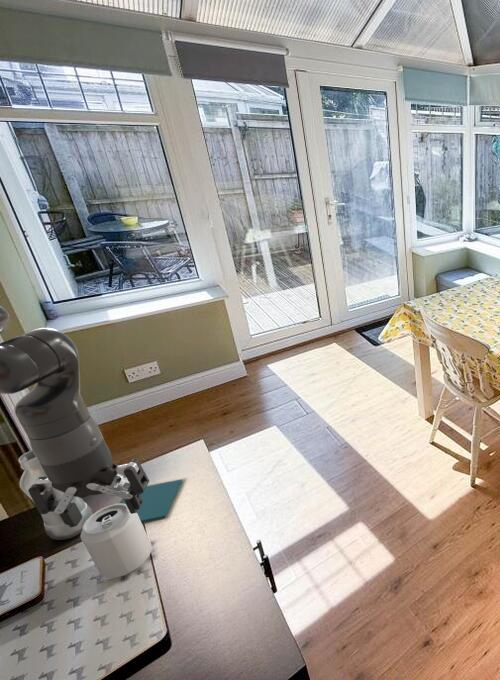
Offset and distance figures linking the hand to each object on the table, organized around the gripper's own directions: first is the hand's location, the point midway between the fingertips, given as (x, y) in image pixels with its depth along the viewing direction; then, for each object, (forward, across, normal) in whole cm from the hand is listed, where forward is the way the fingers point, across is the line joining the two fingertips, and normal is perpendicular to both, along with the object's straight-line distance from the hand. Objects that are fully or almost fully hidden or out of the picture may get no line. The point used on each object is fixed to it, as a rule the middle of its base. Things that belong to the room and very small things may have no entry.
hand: (107, 516), depth 73 cm
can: (+12, 0, 0) cm, 12 cm away
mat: (+12, +2, -14) cm, 19 cm away
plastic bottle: (+12, +13, -11) cm, 21 cm away
